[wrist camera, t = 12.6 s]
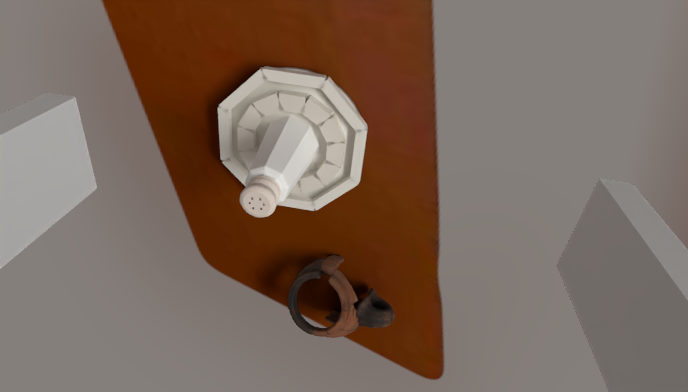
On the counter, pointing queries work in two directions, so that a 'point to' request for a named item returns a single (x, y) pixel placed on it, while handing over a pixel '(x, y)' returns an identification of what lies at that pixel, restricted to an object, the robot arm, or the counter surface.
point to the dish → (308, 107)
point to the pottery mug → (368, 310)
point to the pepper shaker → (278, 165)
